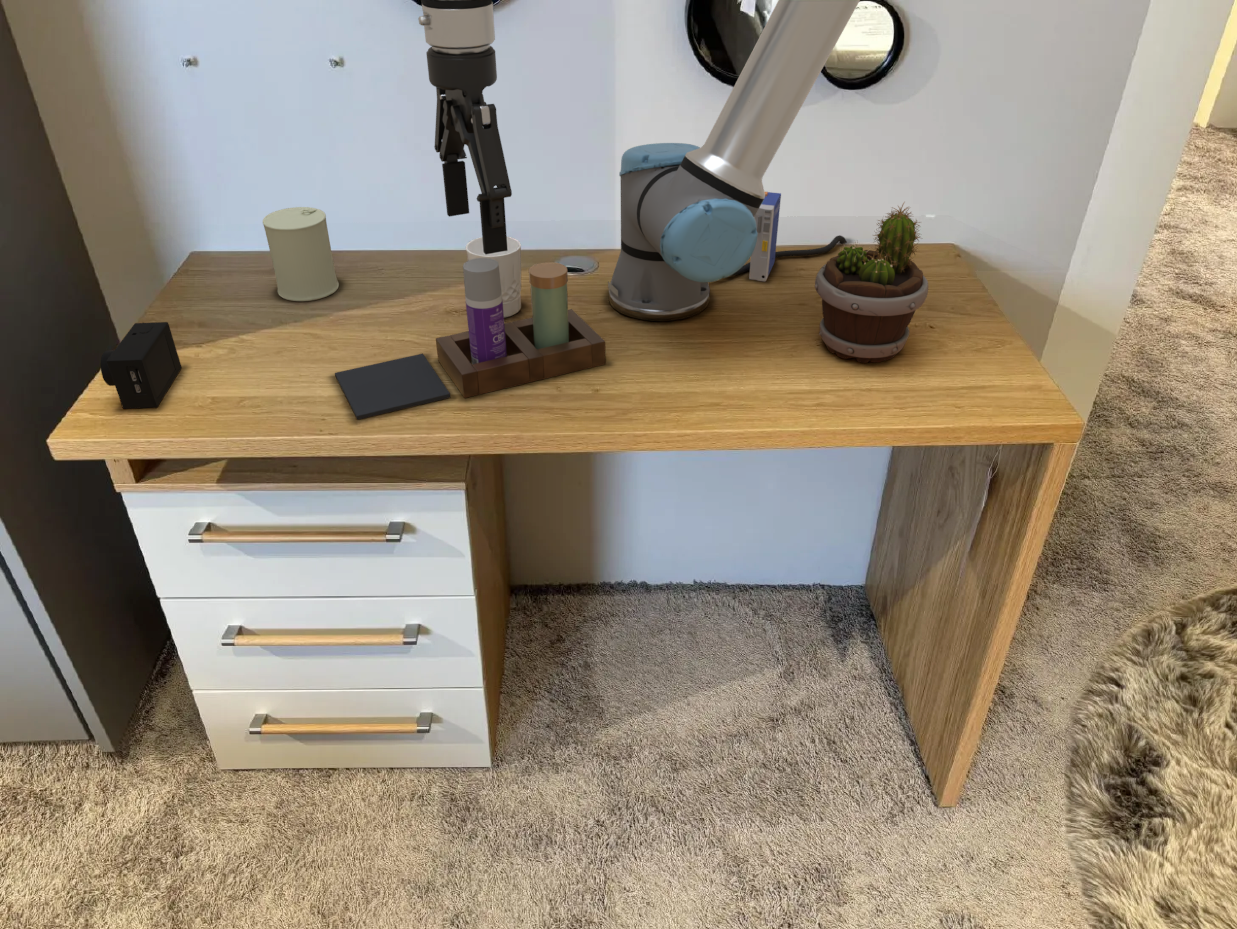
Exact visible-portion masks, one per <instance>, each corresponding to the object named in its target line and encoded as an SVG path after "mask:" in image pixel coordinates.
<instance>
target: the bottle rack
mask: <svg viewBox="0 0 1237 929" xmlns="http://www.w3.org/2000/svg"><path fill="white" fill-rule="evenodd" d="M568 322H569V342H567V343H563V344H559V345H554V346H550V347H545V348H541V349H536V348H535V347H534V336H533V319H532V317H528V318H523V319H519V320H513V321H509V322H504V326H505V339H506V352H507V356H506V357H502V358H498V359H493V360H489V361H485V362H480V363H476V364H472V359H471V349H470V340H469V330H467V331H463V332H458V333H453V334H449V335H445V336H440V337H436V338H435V346H436V352H437V353H436V354H437V361H438V363H439V364H440V365H441V367H442V368H443V370H444V371H445V373H446V374H447V376H448V377H449V378H450V380H451V381H452V383H453V384H454V386H455V387H456V388H457V390H458V391H459V392H460V394H461V395H462V396H463V398H464V399H467V398H472V397H476V396H479V395H483V394H488V393H491V392H496V391H500V390H504V389H508V388H513V387H518V386H521V385H525V384H529V383H533V382H537V381H542V380H546V379H549V378H554V377H558V376H562V375H566V374H570V373H571V374H572V373H575V372H579V371H582V370H586V369H590V368H596V367H600V366H604V365H606V340H604V338H602V336H601V335H600V334H598V333H597V332H596V331H595V330H594V329H593V328H592V327H591V326H590V325H589V324H588V323H587V322H586V321H585V320H584V319H583V318H582V317H581V316H580V315H579V314H578V313H577V312H576V311H575V310H574V309H573V308H568Z"/></svg>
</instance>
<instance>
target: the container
mask: <svg viewBox="0 0 1237 929" xmlns="http://www.w3.org/2000/svg"><path fill="white" fill-rule="evenodd" d="M462 270H463V272H462V273H463V286H464V296H465V297H464V299H465V310H466V319H467V329H468V330H467V331H469V340H470V349H471V359H472V361H471V364H476V363H480V362H485V361H489V360H493V359H498V358H502V357H506V356H508V355H507V352H506V339H505V326H504V323H505V317H504V314H503V301H502V292H501V282H500V273H499V264H498V262H497V261H496V260H493V259H489V258H476V259H472V260H469V261H468V260H467V261H465V262H464V263H463V265H462Z"/></svg>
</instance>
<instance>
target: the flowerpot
mask: <svg viewBox="0 0 1237 929" xmlns="http://www.w3.org/2000/svg"><path fill="white" fill-rule="evenodd" d="M904 204H905V202H903V203H902V204H901V206H899V205H897V207H898V209H897V208H895V207H893V206H892V207H891V206H890V208H891V209H894V210H891V211H890V212H887V213H885V214H886V215H887V216H886V215H884V218H881V219H877V220H876V221H877V223H876V222H875V223H876V226H878V228H876V229H875V230H876V231H875V230H874V233H875V234H873V236H874V238H872V239H873V242H872V243H873V244H874V243H875V242H876V243H877V244H874V246H875V247H873V249H870V248H871V247H868V248H869V249H864V246H858V244H860V242H858V243H857V241H854V244H851V243H849V245H850V247H849V246H846V245H845V243H842V244H843V248H840V250H839V252H838V253H837V255H835V256H833V257H831V258H830V259H829V260H827V261H826V263H825V264H823V265H822V267H821V268H819V270H818V271H817V273H816V275H815V279H814V289H815V292H816V293H817V295H818V296H819V297H820V298H821V308H822V309H821V311H822V318H821V320H820V323H819V332H818V335H819V337H821V339H822V341H823V343H824V344H825V346H826V349H828V351H829V352H830V353H832V354H835V355H836V356H837V357H839V358H840V359H852V358H855V360H856V361H857V362H858V363H861V364H863V363H864V364H865V363H869V362H871V363H881V362H882V363H883V362H884V361H888V360H892V359H893V358H894V357H895V356H896V355H897V354H898V353H899V352H900V351H901V350H903V348H904V347H905V345H906V343H907V341H908V339H909V336H910V328H909V327H908V326H909V325H910V324H911V321H912V319H913V318H914V315H915V313H916V310H918V309H920V308H921V307H922V306H923V305H924V304H925V302H926V300H927V297H928V293H929V281H928V279H927V278H926V277H925V275H924V272H923V270H922V269H920V268H919V267H918V266H917V264H916V263H915V262H914V259H913V258H914V256H916V255H917V254H916V253H918V251H920V250H919V249H918V248H919V247H920V246H919V245H918V244H919V242H917V241H919V239H921V238H922V234H921V233H920V230H921V229H919V228H921V225H920V223H921V221H918V220H917V219H915V220H913V219H912V217H913V216H914V214H913V213H912V212H913V211H910V212H909V209H911V208H912V207H910V206H906V207H905V208H904V209H903V207H904ZM902 209H903V210H902ZM918 227H919V228H918ZM920 235H921V236H920ZM917 245H918V246H917ZM913 255H914V256H913Z"/></svg>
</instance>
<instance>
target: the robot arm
mask: <svg viewBox="0 0 1237 929" xmlns="http://www.w3.org/2000/svg"><path fill="white" fill-rule="evenodd" d="M860 1H861V0H777V2H776V4H775V7H774V8H773V10H772V12H771V14H770V16H769V17H768V20H767V22H766V24H765V26H764V28H763V29H762V31H761V33H760V35H759V37H758V39H757V41H756V43H755V45H754V47H753V50H752V51H751V53H750V54H749V56H748V58H747V60H746V62H745V65H744V67H743V68H742V70H741V72H740V74H739V76H738V78H737V80H736V81H735V84H734V85H733V88H732V89H731V92H730V93H729V95H728V97H727V100H726V101H725V103H724V104H723V107H722V109H721V111H720V113H719V115H718V117H717V118H716V120H715V123H714V125H713V126H712V128H711V130H710V132H709V134H708V136H707V138H706V140H705V142H704V144H702V146H699V145H695V144H690V143H682V142H659V143H657V142H656V143H647V144H641V145H636V146H633V147H630V148H628V149H626V150H625V151H624V152H623V154H622V155H621V163H620V171H619V175H618V176H619V177H620V252H619V256H618V258H617V261H616V264H615V267H614V270H613V273H612V276H611V280H610V281H607V288H608V301H609V304H610V306H611V307H612V308H613V309H614V310H616V312H619V313H620V314H622V315H625V316H627V317H630V318H634V319H637V320H642V321H643V320H644V321H651V322H669V321H671V322H672V321H679V320H683V319H687V318H690V317H694V316H696V315H698V314H700V313H702V312H703V311H704V310H705V309H706V308H707V307H708V306H709V303H710V293H711V292H710V291H711V288H710V284H709V283H715V282H718V281H720V280H722V279H726V278H729V277H734V276H738V275H741V274H743V273H746V272H748V271H750V261H749V260H750V259H751V255H752V253H753V251H754V249H755V246H756V243H757V236H758V233H757V230H756V229H757V227H756V221H755V219H754V216H755V215H756V213H757V211H758V209H759V207H760V205H761V204H762V202H763V200H764V198H765V192H766V191H765V188H764V184H763V178H764V176H765V174H766V173H767V170H768V169H769V166H770V165H771V163H772V161H773V159H774V157H775V156H776V155H777V152H778V151H779V148H780V146H781V145H782V143H783V141H784V139H785V137H786V135H787V134H788V132H789V130H790V128H791V127H792V124H793V123H794V121H795V119H796V118H797V116H798V114H799V112H800V110H801V108H802V106H803V104H804V103H805V102H806V99H807V98H808V95H809V94H810V92H811V90H812V88H813V87H814V84H815V83H816V81H817V80H818V78H819V76H820V73H821V72H822V70H823V68H824V66H825V65H826V63H827V61H828V60H829V57H830V55H831V54H832V52H833V50H834V48H835V47H836V45H837V43H838V41H839V40H840V38H841V36H842V34H843V32H844V30H845V28H846V27H847V25H848V24H849V21H850V19H851V18H852V16H853V14H854V12H855V10H856V8H857V7H858V5H859V3H860ZM420 2H421V10H422V15H420V16H419V17H418V19H417V20H418V24H419V25H420V26H422V27H423V29H424V38H425V43H426V44H428V45H429V46H430V47H429V48H428V49H427V51H426V62H427V71H428V80H429V83H430V85H432V86H433V87H435V90H436V109H435V131H434V146H433V147H434V150H435V152H436V153H439V159H440V161H441V162H442V163H441V167H442V176H443V185H444V186H443V187H444V198H445V205H446V215H447V216H448V218H449V217H454V216H456V217H457V216H461V215H467V214H470V204H469V193H468V183H467V180H468V179H467V170H466V162H465V161H464V160H465V159H467V158H468V156H467V153H466V151H465V146H467V149H468V152H469V154H470V155H469V156H470V158H471V162H472V165H473V169H474V172H475V176H476V179H477V182H478V186H479V189H480V193H478V195H476V196H477V197H476V201H477V202H478V203H479V212H480V226H481V237H482V239H483V251H484V253H485V254H491V253H497V252H502V251H508V250H507V220H506V206H505V198H511V197H512V196H513V193H512V187H511V183H510V178H509V173H508V168H507V164H506V159H505V154H504V150H503V145H502V140H501V136H500V129H499V126H498V115H497V107H496V104H495V103H487V102H486V101H485V98H484V94H483V92H484V90H485V89H486V88H487V87H491V86H492V85H494V84H495V83H496V81H497V80H498V72H497V58H496V50H495V49H494V47H493V46H492V44H493V43H494V42H495V40H496V33H495V18H494V5H493V4H494V2H493V0H420ZM847 242H848V241H847V240H846V238H845V237H844V236H843V235H836V236H834V238H833V239H832V240H831V241H830V242H829V243H828V244H827V245H825V246H821V247H818V248H809V249H808V248H807V249H792V250H790V249H789V250H780V251H779V250H778V251H776V252H775V259H777V258H778V259H779V258H786V257H787V258H789V257H806V256H815V255H816V256H817V255H822V254H825V253H828V252H831V251H832V250H833V249H834V248H835V247H836V245H837V244H838V243H840V244H848V243H847ZM748 261H749V262H748Z"/></svg>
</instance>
